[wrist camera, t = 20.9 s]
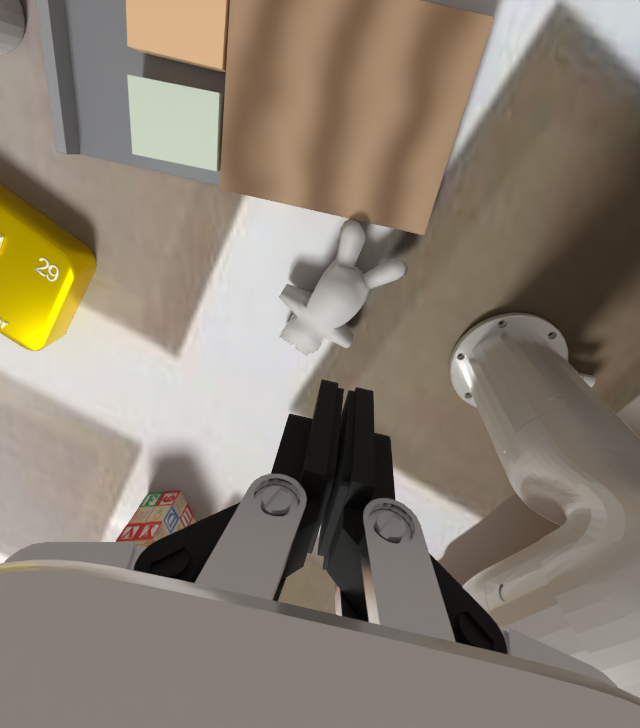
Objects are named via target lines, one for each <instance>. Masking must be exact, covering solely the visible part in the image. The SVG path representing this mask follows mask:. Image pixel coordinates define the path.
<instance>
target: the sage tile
mask: <svg viewBox="0 0 640 728" xmlns="http://www.w3.org/2000/svg"><path fill="white" fill-rule="evenodd" d="M127 79H128V95H129V110H130V126H131V141H132V154H134V155H139V156H144V157H149V158H154V159H159V160H164V161H169V162H174V163H179V164H184V165H188V166H193V167H198V168H203V169H208V170H213V171H220V168H221V151H222V133H223V115H224V98H225V95H223V94H221V93H217V92H212V91H207V90H202V89H197V88H192V87H187V86H182V85H177V84H172V83H167V82H162V81H157V80H152V79H147V78H142V77H137V76H132V75H127Z"/></svg>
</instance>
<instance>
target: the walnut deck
mask: <svg viewBox="0 0 640 728" xmlns="http://www.w3.org/2000/svg"><path fill="white" fill-rule="evenodd" d="M493 20H494V17H492V16H488V15H484V14H479V13H475V12H470V11H466V10H462V9H457V8H453V7H448V6H444V5H439V4H435V3H431V2H426V1H422V0H230V9H229V27H228V44H227V62H226V80H225V98H224V115H223V133H222V151H221V168H220V186H219V189H222V190H226V191H231V192H235V193H239V194H244V195H248V196H253V197H257V198H262V199H266V200H270V201H275V202H279V203H284V204H288V205H292V206H297V207H301V208H306V209H310V210H315V211H319V212H323V213H328V214H332V215H337V216H341V217H345V218H350V219H354V220H359V221H363V222H368V223H372V224H376V225H381V226H385V227H390V228H394V229H399V230H403V231H407V232H412V233H416V234H421V235H424V234H425V231H426V228H427V224H428V221H429V218H430V215H431V212H432V209H433V206H434V203H435V200H436V197H437V193H438V190H439V187H440V184H441V181H442V178H443V175H444V172H445V169H446V166H447V162H448V159H449V156H450V153H451V150H452V147H453V144H454V141H455V138H456V134H457V131H458V128H459V125H460V122H461V119H462V116H463V113H464V110H465V107H466V103H467V100H468V97H469V94H470V91H471V88H472V85H473V82H474V79H475V76H476V72H477V69H478V66H479V63H480V60H481V57H482V54H483V51H484V48H485V45H486V41H487V38H488V35H489V32H490V29H491V26H492V23H493Z"/></svg>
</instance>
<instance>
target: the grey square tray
mask: <svg viewBox="0 0 640 728" xmlns="http://www.w3.org/2000/svg"><path fill="white" fill-rule="evenodd" d="M36 4H37V11H38V19H39V26H40V33H41V41H42V48H43V56H44V63H45V71H46V78H47V85H48V93H49V100H50V108H51V115H52V123H53V130H54V137H55V145H56V152H59V153H64V154H82V155H86V156H91V157H95V158H99V159H104V160H108V161H113V162H117V163H122V164H126V165H130V166H135V167H139V168H144V169H148V170H152V171H157V172H161V173H166V174H170V175H175V176H179V177H183V178H188V179H192V180H197V181H201V182H205V183H210V184H214V185H219V186H220V171H213V170H208V169H203V168H198V167H193V166H188V165H184V164H179V163H174V162H169V161H164V160H159V159H154V158H149V157H144V156H139V155H134V154H132V141H131V126H130V110H129V95H128V79H127V75H132V76H137V77H142V78H147V79H152V80H157V81H162V82H167V83H172V84H177V85H182V86H187V87H192V88H197V89H202V90H207V91H212V92H217V93H221V94H223V95H225V80H226V73H223V72H218V71H214V70H210V69H206V68H202V67H198V66H194V65H190V64H186V63H182V62H177V61H173V60H169V59H165V58H161V57H157V56H153V55H149V54H145V53H142V52H139V51H137V50H135V49H133V48H131V47H128V46H127V20H126V0H36Z"/></svg>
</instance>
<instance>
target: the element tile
mask: <svg viewBox="0 0 640 728" xmlns="http://www.w3.org/2000/svg"><path fill="white" fill-rule="evenodd" d="M95 270H96V259H95V256H94V254H93V252H92V251H91V250H90V249H89V248H88V247H87V246H86V245H85V244H84V243H83V242H81V241H80V240H78V239H77V238H76V237H74V236H73V235H71V234H70V233H69V232H67V231H66V230H64V229H63V228H62V227H60V226H59V225H57V224H56V223H55V222H53V221H52V220H51V219H49V218H48V217H46V216H45V215H44V214H42V213H41V212H39V211H38V210H37V209H35V208H34V207H32V206H31V205H30V204H28V203H27V202H25V201H24V200H23V199H21V198H20V197H18V196H17V195H16V194H14V193H13V192H11V191H10V190H9V189H7V188H6V187H5V186H3V185H2V184H0V333H1V334H3V335H4V336H6V337H7V338H9V339H10V340H12V341H14V342H15V343H17V344H18V345H20V346H22V347H23V348H26V349H28V350H31V351H39V350H41V349H43V348H44V347H46V346H48V345H49V344H51V343H53V342H54V341H56V340H58V339H59V338H61V337H63V336H64V335H65V334H66V332H67V329H68V327H69V325H70V323H71V321H72V319H73V317H74V315H75V313H76V310H77V308H78V306H79V304H80V302H81V300H82V298H83V296H84V294H85V292H86V289H87V287H88V285H89V283H90V281H91V279H92V277H93V275H94V273H95Z"/></svg>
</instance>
